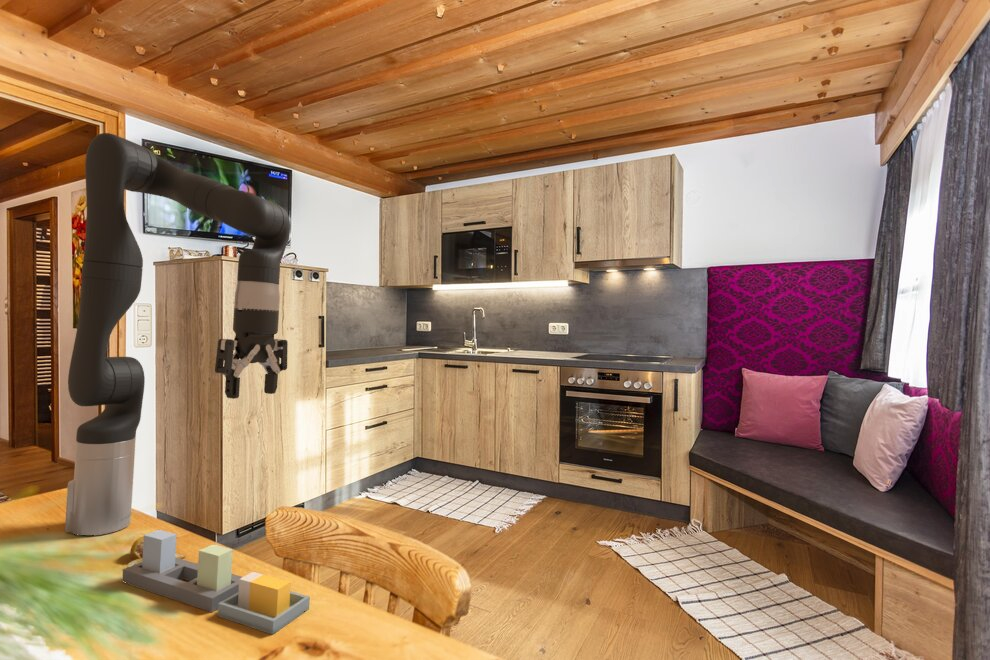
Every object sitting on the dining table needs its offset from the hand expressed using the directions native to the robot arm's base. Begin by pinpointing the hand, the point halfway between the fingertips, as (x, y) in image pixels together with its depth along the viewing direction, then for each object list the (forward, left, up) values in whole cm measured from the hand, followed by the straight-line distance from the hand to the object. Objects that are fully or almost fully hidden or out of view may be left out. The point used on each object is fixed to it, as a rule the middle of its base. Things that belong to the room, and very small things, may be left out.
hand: (251, 395), depth 93 cm
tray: (+12, -21, -28) cm, 37 cm away
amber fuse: (+8, -19, -26) cm, 33 cm away
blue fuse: (-8, -12, -28) cm, 32 cm away
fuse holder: (-3, -14, -28) cm, 32 cm away
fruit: (-13, -5, -29) cm, 32 cm away
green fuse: (+2, -16, -28) cm, 33 cm away
